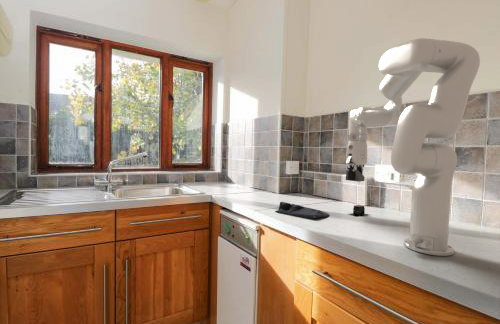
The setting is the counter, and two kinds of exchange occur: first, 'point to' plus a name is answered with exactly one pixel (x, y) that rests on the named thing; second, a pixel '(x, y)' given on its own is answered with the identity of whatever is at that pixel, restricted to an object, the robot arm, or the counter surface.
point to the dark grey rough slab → (300, 211)
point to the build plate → (358, 211)
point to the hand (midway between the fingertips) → (355, 179)
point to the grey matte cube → (358, 177)
